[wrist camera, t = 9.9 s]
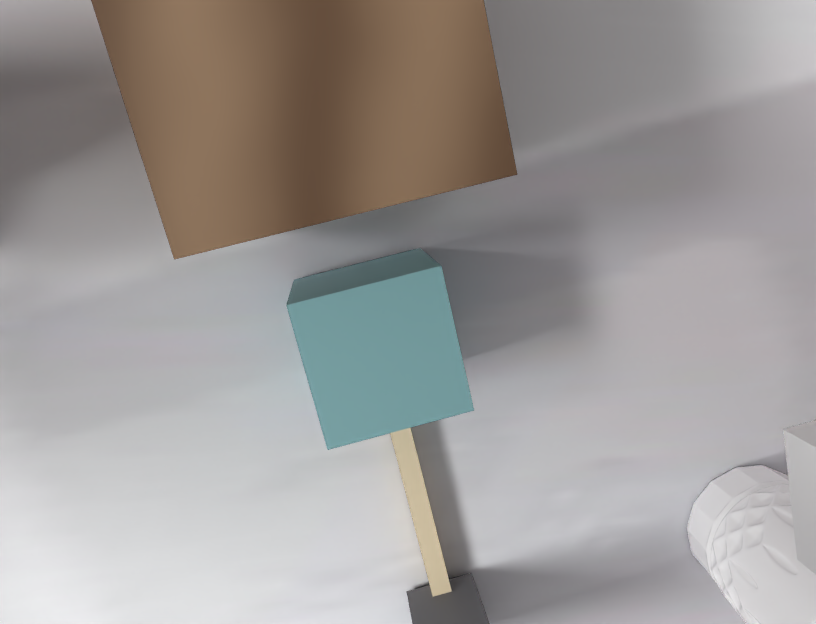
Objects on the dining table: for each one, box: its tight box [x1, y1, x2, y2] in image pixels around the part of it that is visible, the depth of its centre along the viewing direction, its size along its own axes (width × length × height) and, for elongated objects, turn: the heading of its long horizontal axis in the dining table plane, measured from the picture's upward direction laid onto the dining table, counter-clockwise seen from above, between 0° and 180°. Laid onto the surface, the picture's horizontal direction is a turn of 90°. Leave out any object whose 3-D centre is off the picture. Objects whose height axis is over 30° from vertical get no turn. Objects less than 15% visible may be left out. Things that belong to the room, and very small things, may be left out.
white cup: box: [687, 465, 816, 624], centre depth 32 cm, size 8×8×10 cm
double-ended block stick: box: [286, 248, 489, 624], centre depth 28 cm, size 6×21×11 cm, turn 13°
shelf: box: [91, 0, 517, 259], centre depth 24 cm, size 10×13×11 cm
